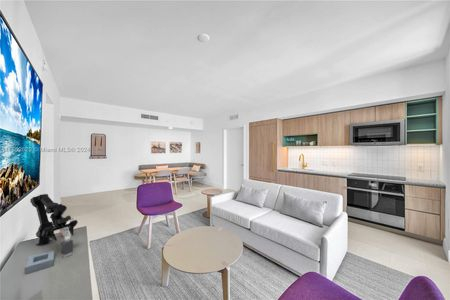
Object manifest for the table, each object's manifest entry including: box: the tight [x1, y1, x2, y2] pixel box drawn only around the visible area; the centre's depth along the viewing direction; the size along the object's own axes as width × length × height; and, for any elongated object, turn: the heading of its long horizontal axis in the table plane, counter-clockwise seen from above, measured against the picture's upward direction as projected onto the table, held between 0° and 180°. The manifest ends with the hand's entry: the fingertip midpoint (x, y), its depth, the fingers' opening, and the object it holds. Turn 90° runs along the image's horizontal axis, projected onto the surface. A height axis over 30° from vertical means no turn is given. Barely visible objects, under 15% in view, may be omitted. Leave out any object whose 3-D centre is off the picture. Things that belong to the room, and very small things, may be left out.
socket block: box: [24, 249, 55, 275], centre depth 111 cm, size 14×12×4 cm
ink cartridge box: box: [58, 217, 74, 238], centre depth 148 cm, size 9×5×15 cm, turn 84°
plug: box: [60, 236, 74, 258], centre depth 122 cm, size 4×4×12 cm
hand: (64, 237), depth 124 cm, fingers open, 9 cm apart
